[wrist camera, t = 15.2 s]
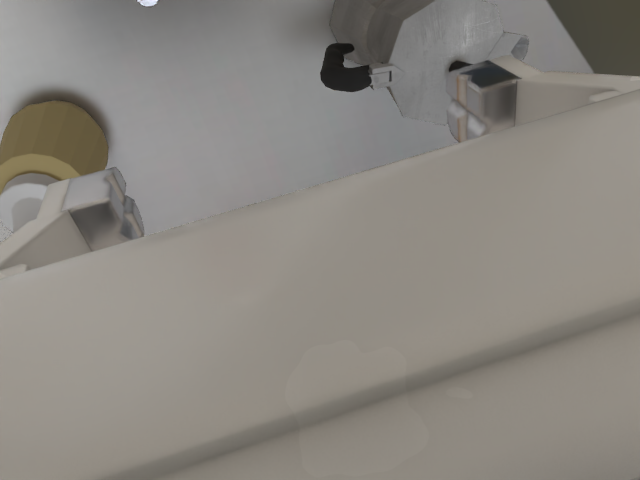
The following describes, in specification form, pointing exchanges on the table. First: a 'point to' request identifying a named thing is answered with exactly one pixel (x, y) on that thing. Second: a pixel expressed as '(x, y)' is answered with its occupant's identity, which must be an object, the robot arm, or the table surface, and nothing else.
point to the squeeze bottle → (45, 156)
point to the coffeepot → (414, 48)
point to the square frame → (147, 2)
